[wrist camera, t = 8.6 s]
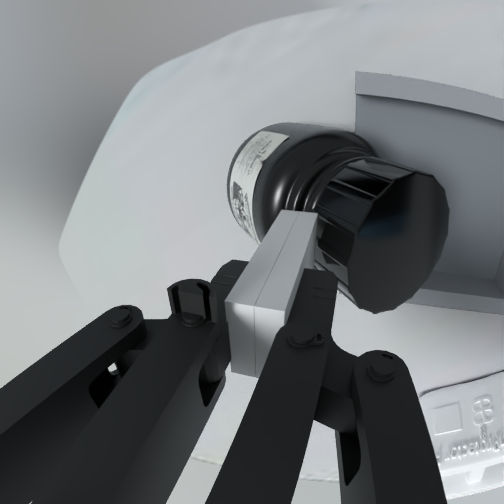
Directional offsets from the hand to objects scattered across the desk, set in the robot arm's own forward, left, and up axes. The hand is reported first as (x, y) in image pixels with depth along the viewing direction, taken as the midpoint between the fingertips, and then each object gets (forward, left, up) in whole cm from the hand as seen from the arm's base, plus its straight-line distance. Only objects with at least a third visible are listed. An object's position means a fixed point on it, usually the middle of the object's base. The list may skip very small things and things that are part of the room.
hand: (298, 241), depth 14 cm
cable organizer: (-22, +24, -13) cm, 35 cm away
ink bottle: (+3, 0, -10) cm, 10 cm away
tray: (-10, 0, -13) cm, 16 cm away
